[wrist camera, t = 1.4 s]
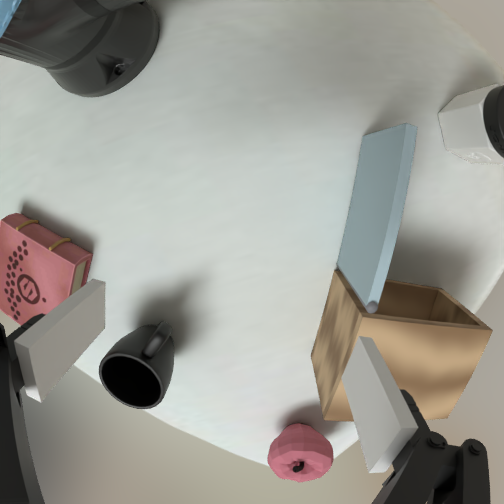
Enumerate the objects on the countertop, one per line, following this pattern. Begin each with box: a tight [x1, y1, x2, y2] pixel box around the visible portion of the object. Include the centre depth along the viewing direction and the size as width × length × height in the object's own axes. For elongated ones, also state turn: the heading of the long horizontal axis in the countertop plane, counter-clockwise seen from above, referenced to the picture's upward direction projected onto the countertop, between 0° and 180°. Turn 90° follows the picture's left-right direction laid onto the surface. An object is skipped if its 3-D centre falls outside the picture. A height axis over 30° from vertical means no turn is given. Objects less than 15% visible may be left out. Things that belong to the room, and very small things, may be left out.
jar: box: [438, 84, 504, 165], centre depth 26 cm, size 9×8×12 cm
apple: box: [268, 423, 333, 482], centre depth 39 cm, size 10×9×10 cm
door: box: [337, 123, 417, 314], centre depth 28 cm, size 1×16×12 cm, turn 171°
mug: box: [99, 321, 174, 409], centre depth 36 cm, size 8×12×10 cm
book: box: [0, 213, 93, 325], centre depth 37 cm, size 14×15×5 cm
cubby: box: [311, 271, 492, 421], centre depth 32 cm, size 12×16×12 cm
